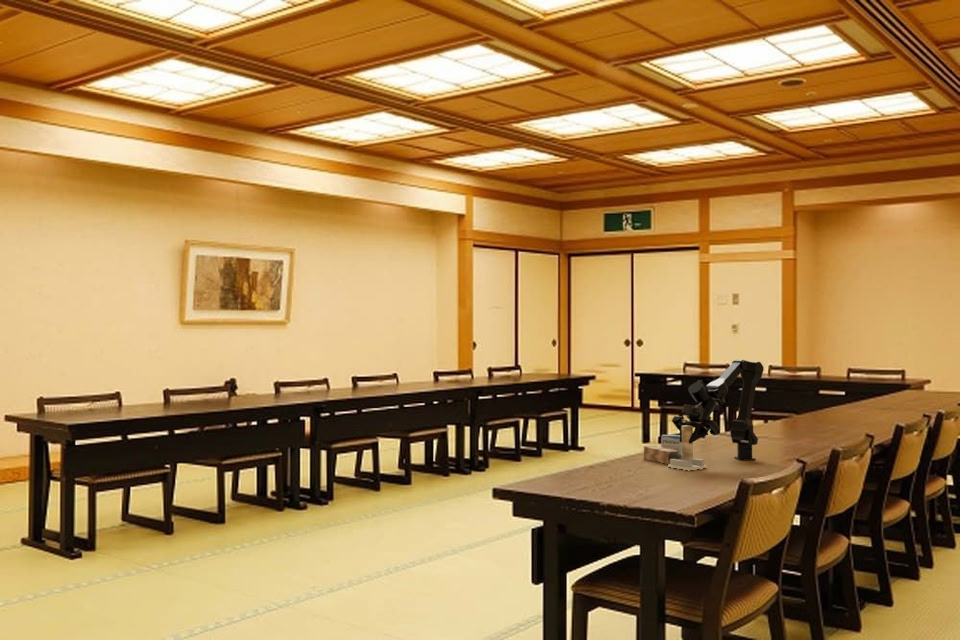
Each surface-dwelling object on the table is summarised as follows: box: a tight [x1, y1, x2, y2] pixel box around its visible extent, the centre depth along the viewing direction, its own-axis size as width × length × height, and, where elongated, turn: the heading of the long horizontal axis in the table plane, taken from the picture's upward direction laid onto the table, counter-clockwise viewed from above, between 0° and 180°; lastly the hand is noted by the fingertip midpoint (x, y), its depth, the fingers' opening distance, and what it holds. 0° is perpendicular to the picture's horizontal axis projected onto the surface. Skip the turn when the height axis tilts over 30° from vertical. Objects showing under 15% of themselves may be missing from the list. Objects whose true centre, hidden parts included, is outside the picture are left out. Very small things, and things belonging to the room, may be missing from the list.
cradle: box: [667, 457, 707, 472], centre depth 336 cm, size 10×10×3 cm
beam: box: [643, 445, 680, 465], centre depth 352 cm, size 16×5×5 cm, turn 24°
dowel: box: [681, 425, 694, 460], centre depth 336 cm, size 4×4×12 cm
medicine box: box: [660, 434, 682, 458], centre depth 365 cm, size 8×4×9 cm, turn 73°
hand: (684, 442), depth 335 cm, fingers closed on dowel, 4 cm apart
